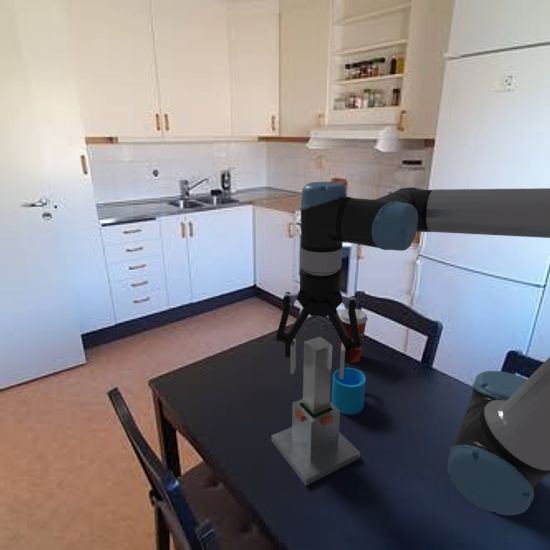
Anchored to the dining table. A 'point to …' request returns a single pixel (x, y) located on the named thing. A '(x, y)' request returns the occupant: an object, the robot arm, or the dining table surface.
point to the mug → (349, 391)
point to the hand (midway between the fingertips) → (317, 372)
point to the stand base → (314, 444)
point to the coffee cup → (346, 322)
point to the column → (317, 376)
